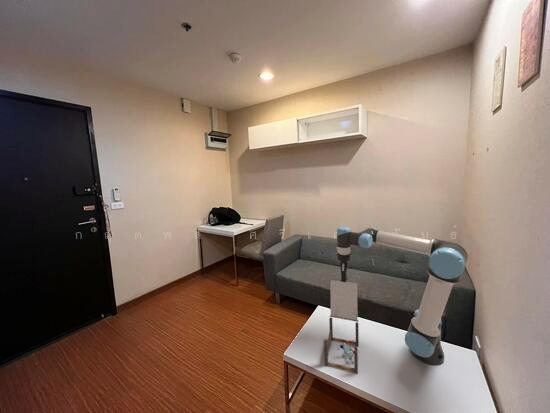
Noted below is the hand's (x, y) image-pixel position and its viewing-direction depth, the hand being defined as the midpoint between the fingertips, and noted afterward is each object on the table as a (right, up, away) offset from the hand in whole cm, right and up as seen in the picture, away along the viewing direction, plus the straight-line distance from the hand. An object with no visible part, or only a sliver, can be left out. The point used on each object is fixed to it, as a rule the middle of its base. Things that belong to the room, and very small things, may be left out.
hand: (344, 290), depth 134 cm
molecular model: (-3, -30, -15) cm, 34 cm away
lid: (-2, -4, -5) cm, 7 cm away
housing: (-5, -30, -13) cm, 33 cm away
